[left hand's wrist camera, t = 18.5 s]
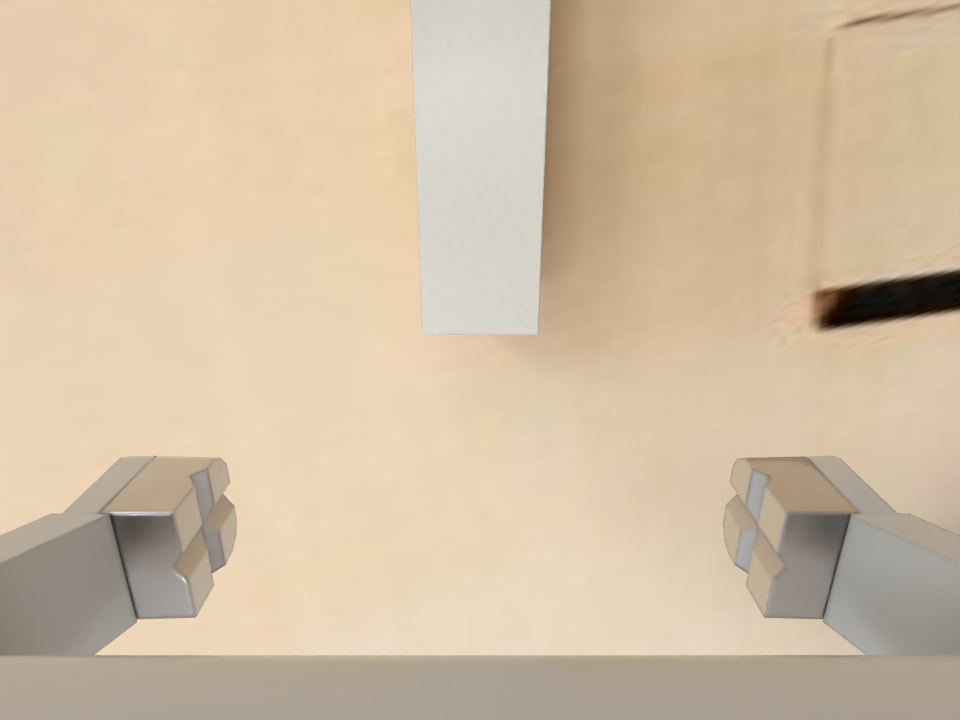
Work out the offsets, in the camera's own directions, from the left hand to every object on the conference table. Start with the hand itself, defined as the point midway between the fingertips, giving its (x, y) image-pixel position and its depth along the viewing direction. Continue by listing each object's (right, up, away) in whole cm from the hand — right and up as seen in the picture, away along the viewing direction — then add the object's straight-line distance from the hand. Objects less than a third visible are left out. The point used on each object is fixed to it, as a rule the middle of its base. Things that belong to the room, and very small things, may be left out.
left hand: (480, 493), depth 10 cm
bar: (0, +17, +21) cm, 27 cm away
